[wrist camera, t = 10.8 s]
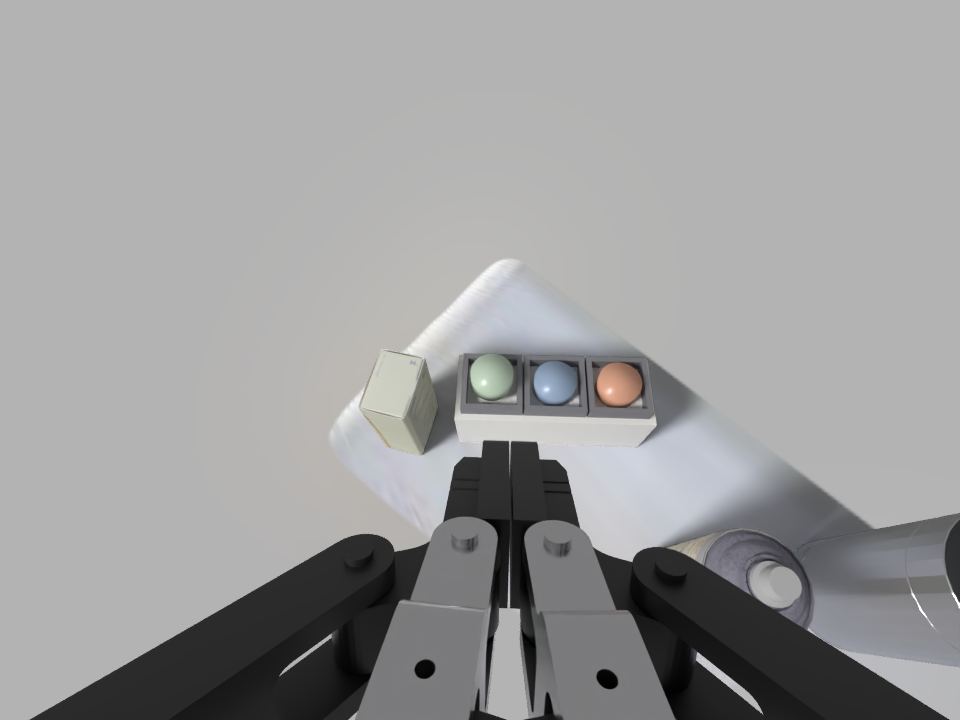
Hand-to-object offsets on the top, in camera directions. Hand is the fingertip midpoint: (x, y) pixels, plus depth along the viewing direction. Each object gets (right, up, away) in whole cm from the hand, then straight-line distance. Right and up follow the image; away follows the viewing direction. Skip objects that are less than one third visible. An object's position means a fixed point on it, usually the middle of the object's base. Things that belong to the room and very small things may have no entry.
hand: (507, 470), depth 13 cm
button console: (+7, -3, +39) cm, 39 cm away
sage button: (0, +1, +32) cm, 32 cm away
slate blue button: (+6, 0, +32) cm, 33 cm away
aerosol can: (+17, -19, +31) cm, 39 cm away
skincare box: (-8, -4, +39) cm, 40 cm away
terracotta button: (+12, 0, +32) cm, 35 cm away
